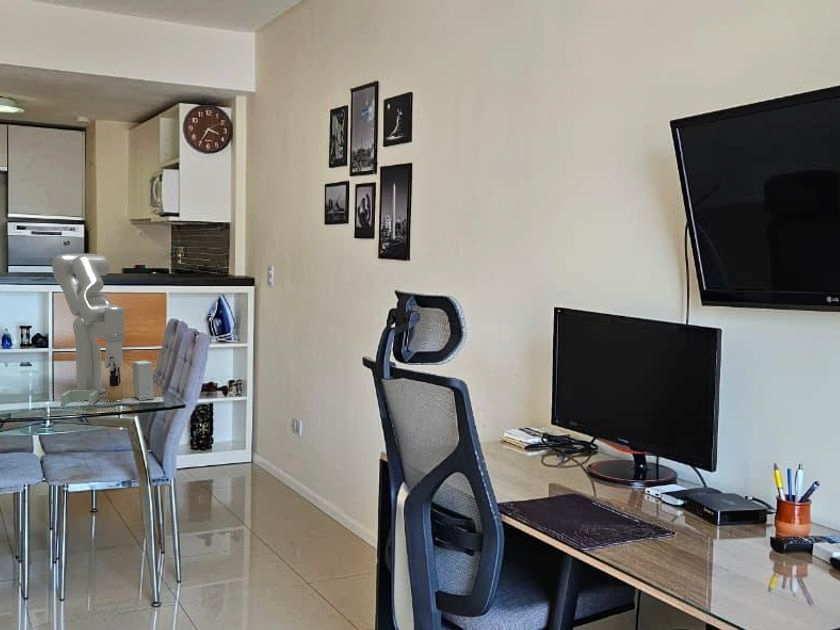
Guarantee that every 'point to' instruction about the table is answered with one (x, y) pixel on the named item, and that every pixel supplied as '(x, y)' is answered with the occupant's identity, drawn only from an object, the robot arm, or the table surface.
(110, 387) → the bottle
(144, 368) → the skincare box
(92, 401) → the u rest
